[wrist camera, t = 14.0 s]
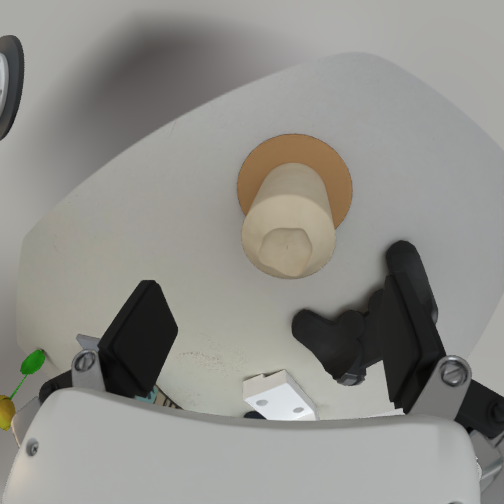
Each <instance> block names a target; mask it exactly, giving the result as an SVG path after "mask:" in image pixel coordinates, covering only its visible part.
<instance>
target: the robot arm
mask: <svg viewBox="0 0 504 504" xmlns="http://www.w3.org/2000/svg"><path fill="white" fill-rule="evenodd" d="M8 83H9V68H8V62H7V59H6V57H5V55H4V54H2V53H0V117H1V115H2V112H3V109H4V106H5V102H6V98H7V92H8ZM177 333H178V327H177V324H176V322H175V320H174V318H173V315H172V313H171V311H170V309H169V306H168V304H167V302H166V299H165V297H164V294H163V292H162V290H161V287H160V285H159V284H158V283H156V281H155V280H142V281H141V282H140V283H139V284H138V286H137V287H136V289H135V290H134V291H133V293H132V294H131V296H130V297H129V298H128V300H127V301H126V303H125V304H124V305H123V307H122V308H121V310H120V311H119V313H118V314H117V316H116V317H115V319H114V320H113V322H112V323H111V325H110V326H109V328H108V329H107V331H106V332H105V334H104V335H103V337H102V338H101V340H100V341H99V343H98V344H97V347H98V348H99V351H98V352H97V351H96V350H94V349H85V350H82V351H81V352H79V353H78V354H77V355H76V356H75V357H74V359H73V361H72V365H71V370H69V371H67V372H65V373H63V374H61V375H59V376H57V377H55V378H53V379H51V380H49V381H47V382H45V383H44V384H43V386H42V387H41V389H40V392H39V397H38V396H36V397H35V398H33V399H32V400H31V401H30V402H29V403H27V404H26V405H25V406H24V407H23V408H21V410H19V411H18V412H17V413H15V415H14V416H13V418H12V420H11V428H12V431H13V434H14V437H15V440H16V442H17V445H18V448H19V451H18V453H17V456H16V458H15V461H14V463H13V466H12V469H11V471H10V474H9V477H8V481H7V483H6V487H5V490H4V494H3V498H2V502H1V504H504V397H502V396H501V395H499V394H497V393H496V392H494V391H492V390H490V389H488V388H487V387H485V386H483V385H481V384H480V383H478V382H476V381H475V380H472V379H471V377H472V372H471V368H470V366H469V364H468V363H467V362H466V360H464V359H463V358H461V357H459V356H456V355H449V356H447V355H446V352H445V350H444V347H443V344H442V341H441V339H440V336H439V334H438V331H437V329H436V326H435V324H434V321H433V319H432V317H431V314H430V312H429V310H428V307H427V305H426V304H425V303H420V301H419V299H418V296H417V294H416V292H415V290H414V287H413V285H412V283H411V281H410V279H409V277H408V275H407V273H406V271H394V272H391V274H390V276H386V280H385V286H384V292H383V298H382V303H381V308H380V313H379V318H378V323H377V334H378V339H379V344H380V349H381V354H382V359H383V364H384V370H385V375H386V381H387V387H388V394H389V400H390V402H394V406H395V409H398V408H403V412H404V413H405V414H406V415H394V416H382V417H370V418H358V419H342V420H316V421H289V420H264V419H249V418H238V417H228V416H220V415H212V414H205V413H198V412H192V411H186V410H181V409H175V408H170V407H165V406H160V405H156V404H151V403H147V402H143V401H139V400H135V399H133V397H134V395H136V396H138V397H142V398H147V396H148V393H150V392H151V391H152V390H153V388H154V385H155V383H156V381H157V378H158V376H159V374H160V372H161V369H162V367H163V365H164V363H165V360H166V358H167V356H168V354H169V351H170V349H171V347H172V345H173V343H174V340H175V338H176V336H177ZM476 457H477V458H478V459H477V460H476ZM477 462H478V464H479V465H480V467H481V469H482V476H481V480H480V482H479V472H478V465H477Z"/></svg>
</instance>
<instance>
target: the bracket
mask: <svg viewBox="0 0 504 504" xmlns="http://www.w3.org/2000/svg"><path fill="white" fill-rule="evenodd" d="M243 399H244V400H245V401H246V402H247V403H248V404H249V405H251V406H252V407H253V408H254V409H255V410H257V411H258V412H259V413H260V414H261V415H263V416H264V417H265V418H266V419H268V420H289V421H316V420H320V419H319V415H318V411H317V407H316V405H315V404H314V403H313V402H312V401H311V400H310V398H309V397H308V396H307V395H306V394H305V393H304V391H303V390H302V389H301V388H300V387H299V386H298V384H297V383H296V382H295V381H294V380H293V379H292V377H291V376H290V375H289V374H288V373H287V371H286V370H282V371H280V372H278V373H275V374H273V375H270V376H268V377H265V376H264V374H261V375H259V376H256V377H253V378H251V379H248V380H246V381H243Z"/></svg>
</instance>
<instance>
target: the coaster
mask: <svg viewBox="0 0 504 504" xmlns="http://www.w3.org/2000/svg"><path fill="white" fill-rule="evenodd" d="M285 163H301V164H304V165H306V166H309V167H310V168H312V169H313V170H314V171H316V172H317V173H318V175H319V176H320V177H321V179H322V180H323V182H324V185H325V188H326V192H327V196H328V201H329V205H330V209H331V214H332V219H333V223H334V228H335V229H336V228H337V227H338V226H339V225H340V223H341V222H342V221H343V219H344V218H345V216H346V214H347V212H348V210H349V207H350V204H351V200H352V181H351V177H350V174H349V171H348V169H347V167H346V165H345V163H344V161H343V160H342V159H341V157H340V156H339V155H338V153H337V152H336V151H335V150H334V149H333V148H331V147H330V146H329V145H327V144H326V143H324V142H323V141H321V140H319V139H316V138H314V137H311V136H307V135H302V134H285V135H280V136H276V137H273V138H271V139H269V140H267V141H265V142H263V143H262V144H260V145H259V146H258V147H257V148H255V149H254V150H253V151H252V152H251V153H250V155H249V156H248V157H247V159H246V160H245V162H244V163H243V165H242V167H241V170H240V173H239V177H238V183H237V192H238V199H239V203H240V205H241V208H242V210H243V212H244V214H245V216H247V214H248V212H249V210H250V208H251V205H252V203H253V201H254V199H255V197H256V195H257V193H258V191H259V189H260V187H261V185H262V183H263V181H264V179H265V178H266V176H267V175H268V173H269V172H270V171H272V170H273V169H274V168H276V167H278V166H279V165H282V164H285Z"/></svg>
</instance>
